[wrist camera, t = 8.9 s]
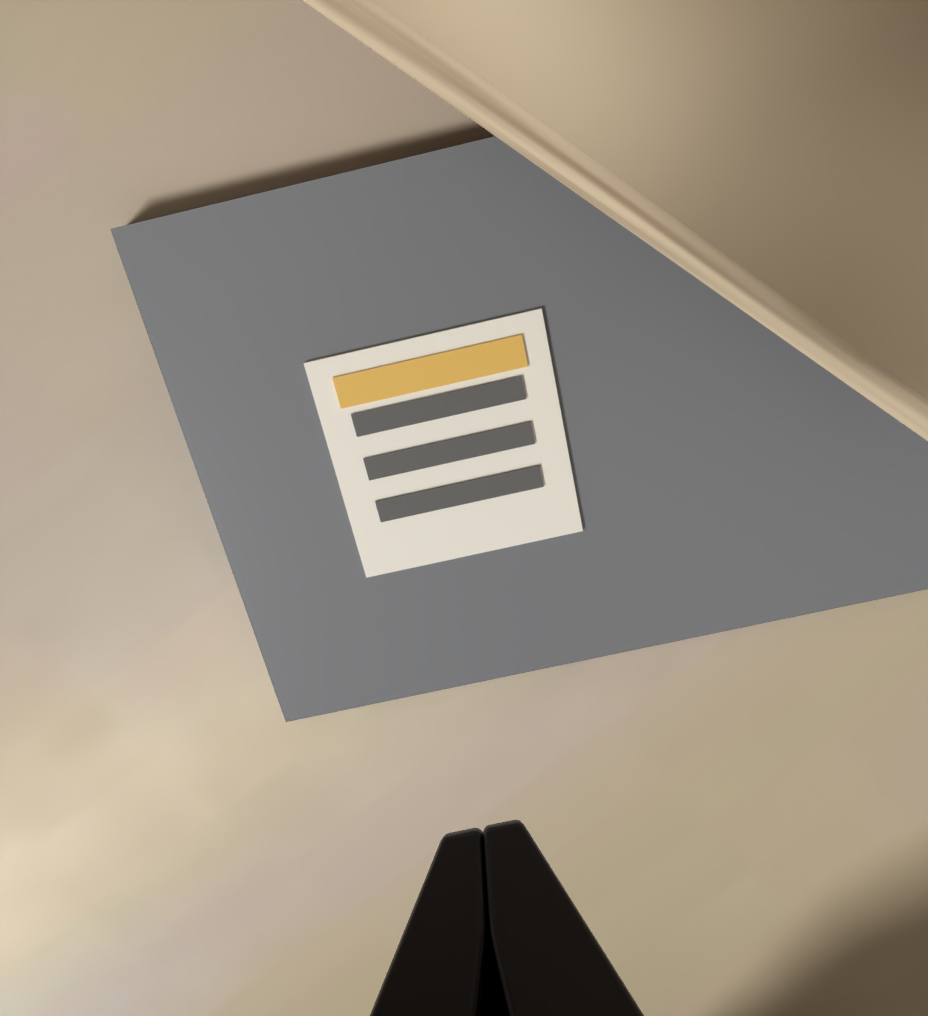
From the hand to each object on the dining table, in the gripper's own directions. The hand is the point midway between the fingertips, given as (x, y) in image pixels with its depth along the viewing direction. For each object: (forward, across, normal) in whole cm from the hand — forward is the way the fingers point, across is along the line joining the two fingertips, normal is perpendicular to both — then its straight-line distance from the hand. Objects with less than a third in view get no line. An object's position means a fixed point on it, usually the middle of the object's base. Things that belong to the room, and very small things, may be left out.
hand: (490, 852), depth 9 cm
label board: (+14, -6, +1) cm, 16 cm away
